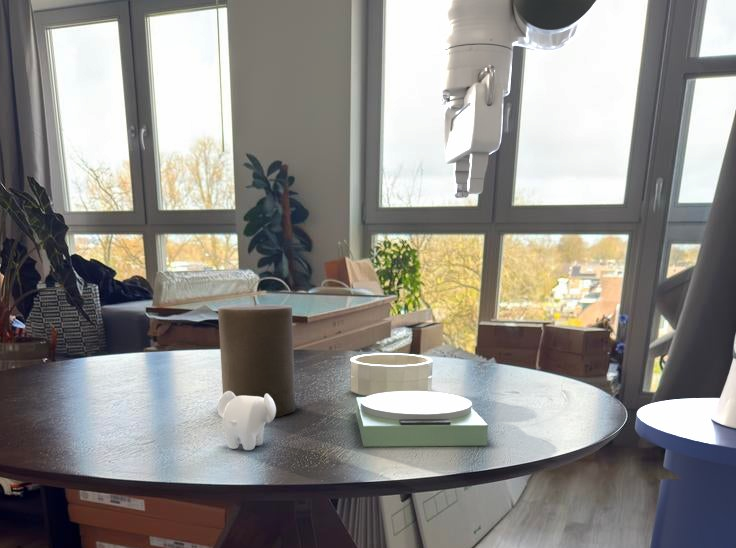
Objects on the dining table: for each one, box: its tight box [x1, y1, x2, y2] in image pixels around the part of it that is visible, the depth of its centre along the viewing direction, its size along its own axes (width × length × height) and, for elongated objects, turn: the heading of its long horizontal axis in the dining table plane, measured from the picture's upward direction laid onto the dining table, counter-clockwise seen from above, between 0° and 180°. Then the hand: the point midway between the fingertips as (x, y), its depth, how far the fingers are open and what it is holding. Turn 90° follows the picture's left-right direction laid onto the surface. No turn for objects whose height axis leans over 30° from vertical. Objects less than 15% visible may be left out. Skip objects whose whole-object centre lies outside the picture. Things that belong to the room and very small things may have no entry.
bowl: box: [349, 353, 434, 397], centre depth 109 cm, size 12×12×5 cm
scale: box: [355, 391, 489, 448], centre depth 88 cm, size 14×16×3 cm
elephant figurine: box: [216, 391, 276, 451], centre depth 80 cm, size 7×8×6 cm
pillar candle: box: [217, 295, 296, 418], centre depth 96 cm, size 10×10×15 cm
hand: (467, 196), depth 98 cm, fingers open, 8 cm apart
